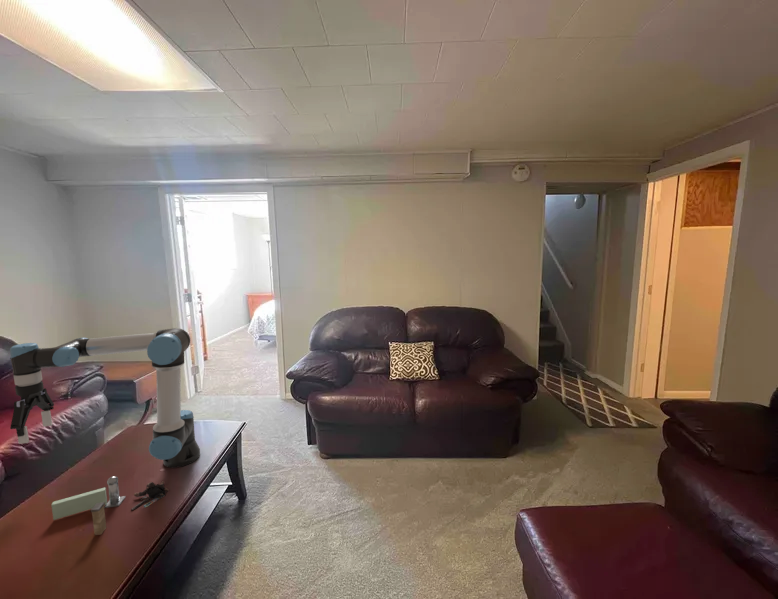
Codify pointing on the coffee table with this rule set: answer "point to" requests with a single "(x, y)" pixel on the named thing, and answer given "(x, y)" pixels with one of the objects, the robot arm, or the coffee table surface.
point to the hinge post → (114, 493)
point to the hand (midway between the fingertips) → (36, 434)
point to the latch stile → (99, 518)
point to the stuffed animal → (151, 494)
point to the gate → (78, 503)
